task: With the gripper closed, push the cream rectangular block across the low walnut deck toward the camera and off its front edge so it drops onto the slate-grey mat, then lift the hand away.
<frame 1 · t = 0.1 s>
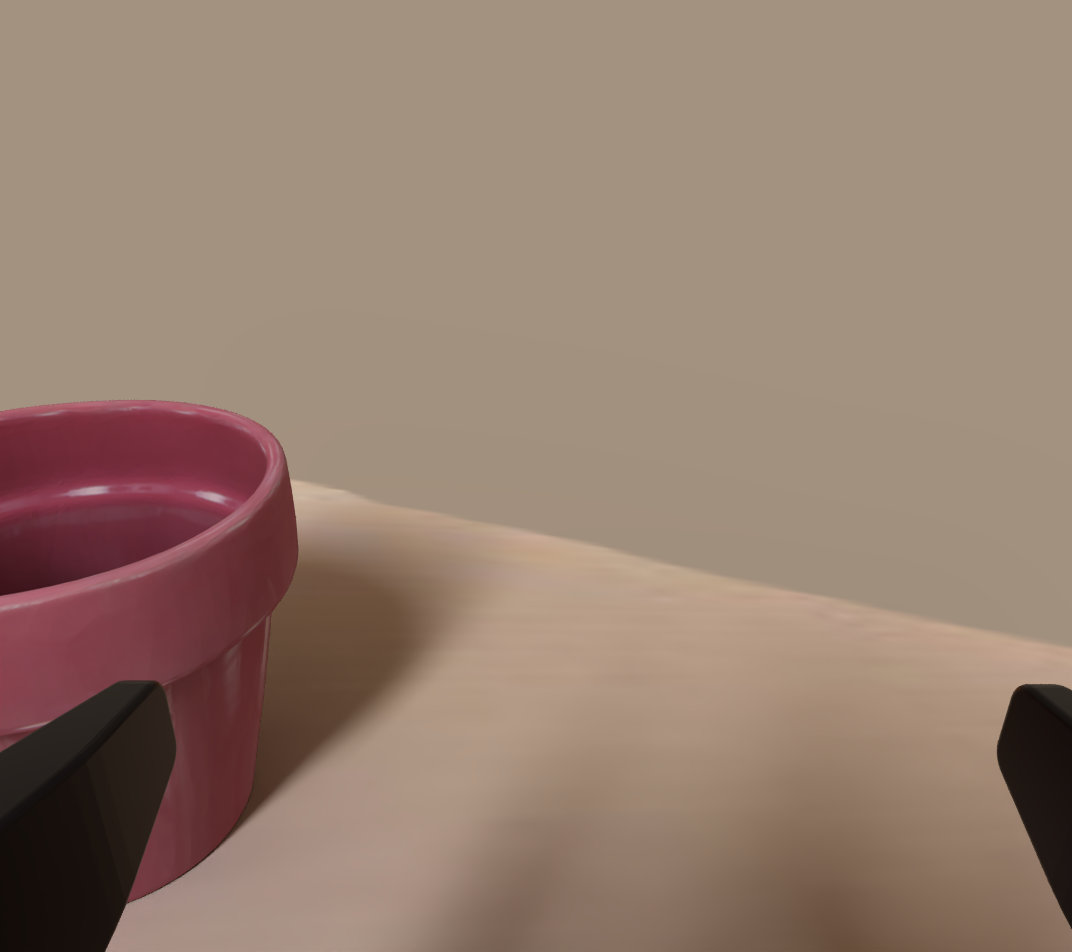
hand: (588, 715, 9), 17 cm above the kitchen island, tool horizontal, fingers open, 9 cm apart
plant pot: (123, 809, 29), on the kitchen island
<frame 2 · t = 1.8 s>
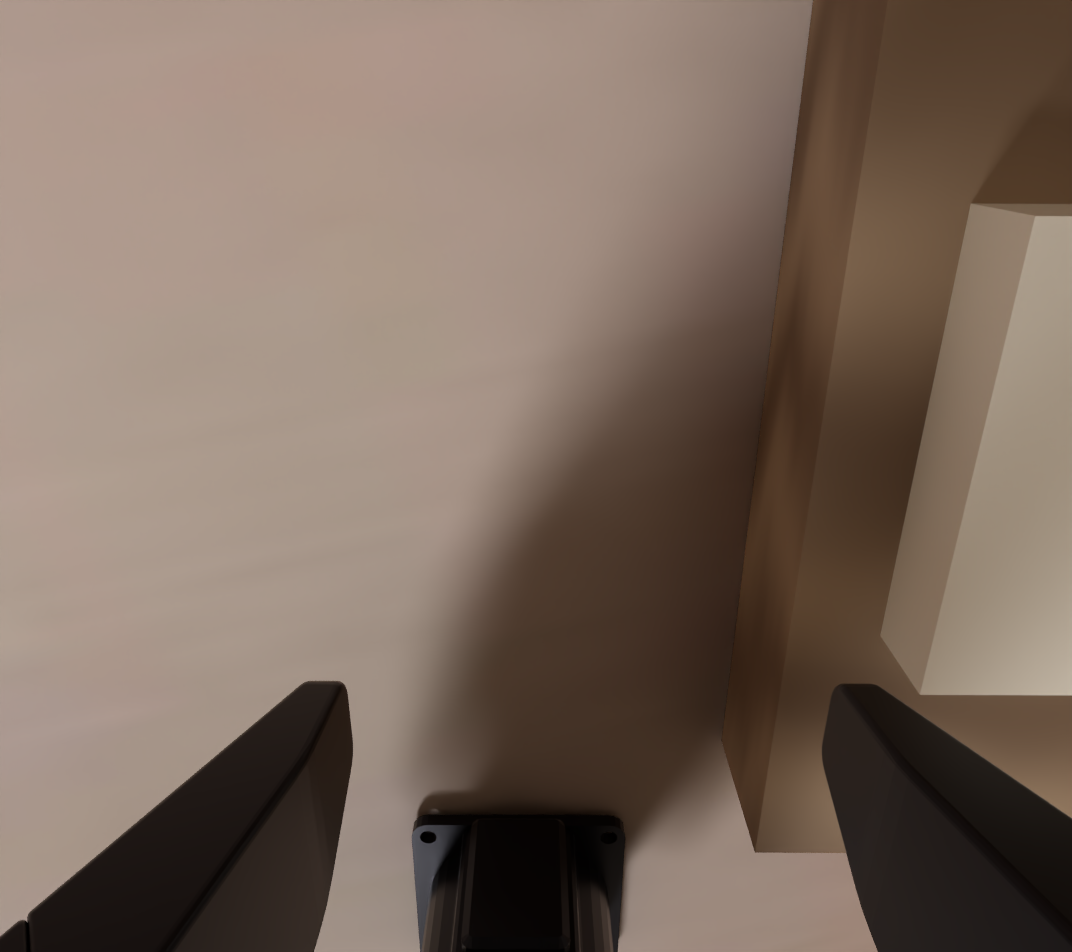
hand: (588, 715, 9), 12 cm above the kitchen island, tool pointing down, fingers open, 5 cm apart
walnut deck: (1055, 384, 20), on the kitchen island
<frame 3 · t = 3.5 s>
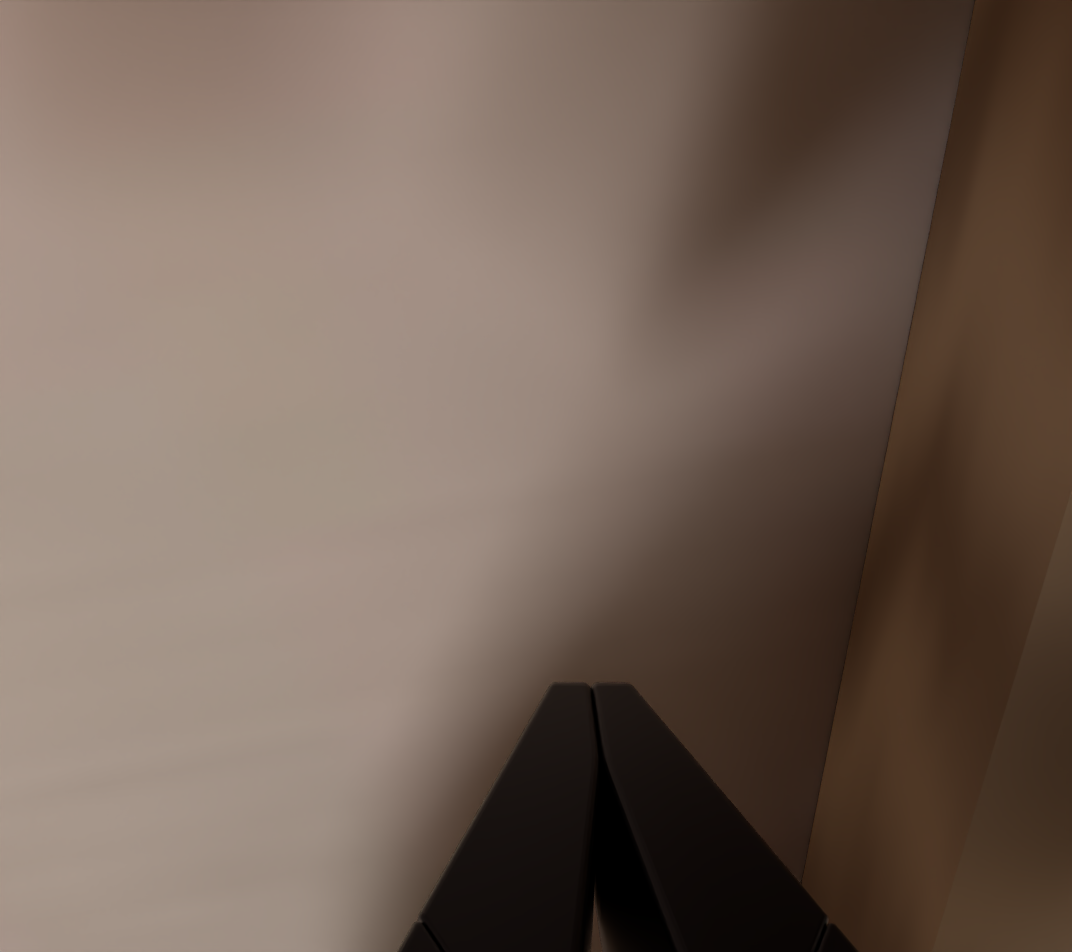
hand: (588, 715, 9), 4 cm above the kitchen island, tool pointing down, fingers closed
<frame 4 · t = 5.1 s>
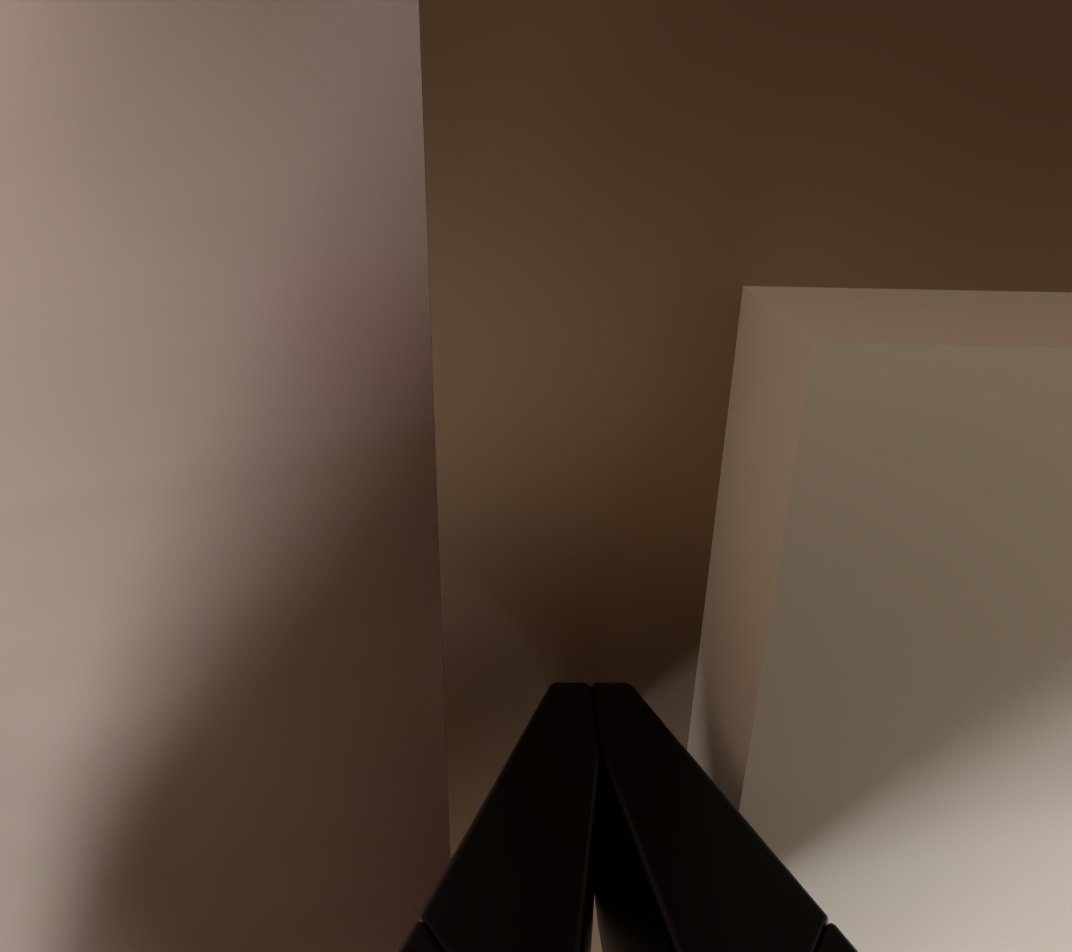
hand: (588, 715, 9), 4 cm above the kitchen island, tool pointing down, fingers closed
walnut deck: (919, 535, 13), on the kitchen island
cream rectangular block: (963, 700, 9), point 4 cm above the kitchen island, touching gripper, walnut deck
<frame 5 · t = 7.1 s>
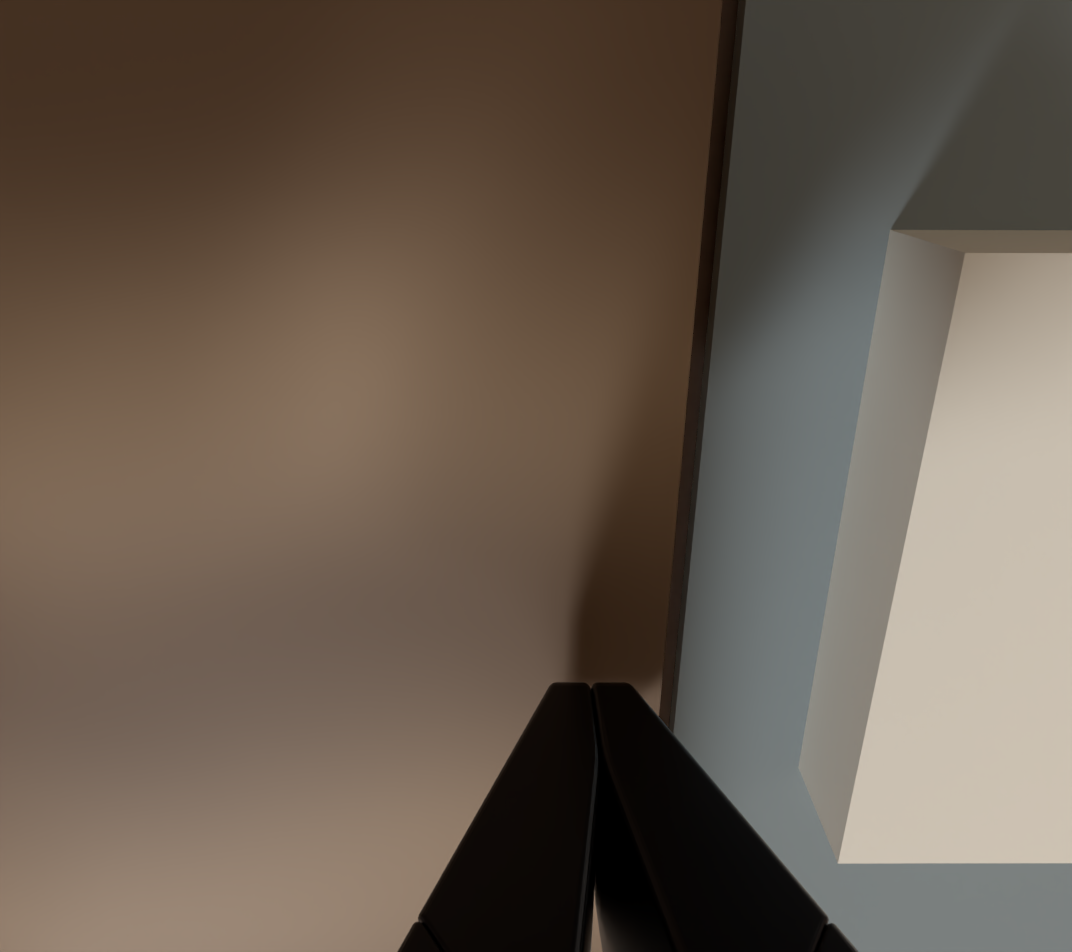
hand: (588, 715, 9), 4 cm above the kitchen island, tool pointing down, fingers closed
walnut deck: (174, 528, 13), on the kitchen island
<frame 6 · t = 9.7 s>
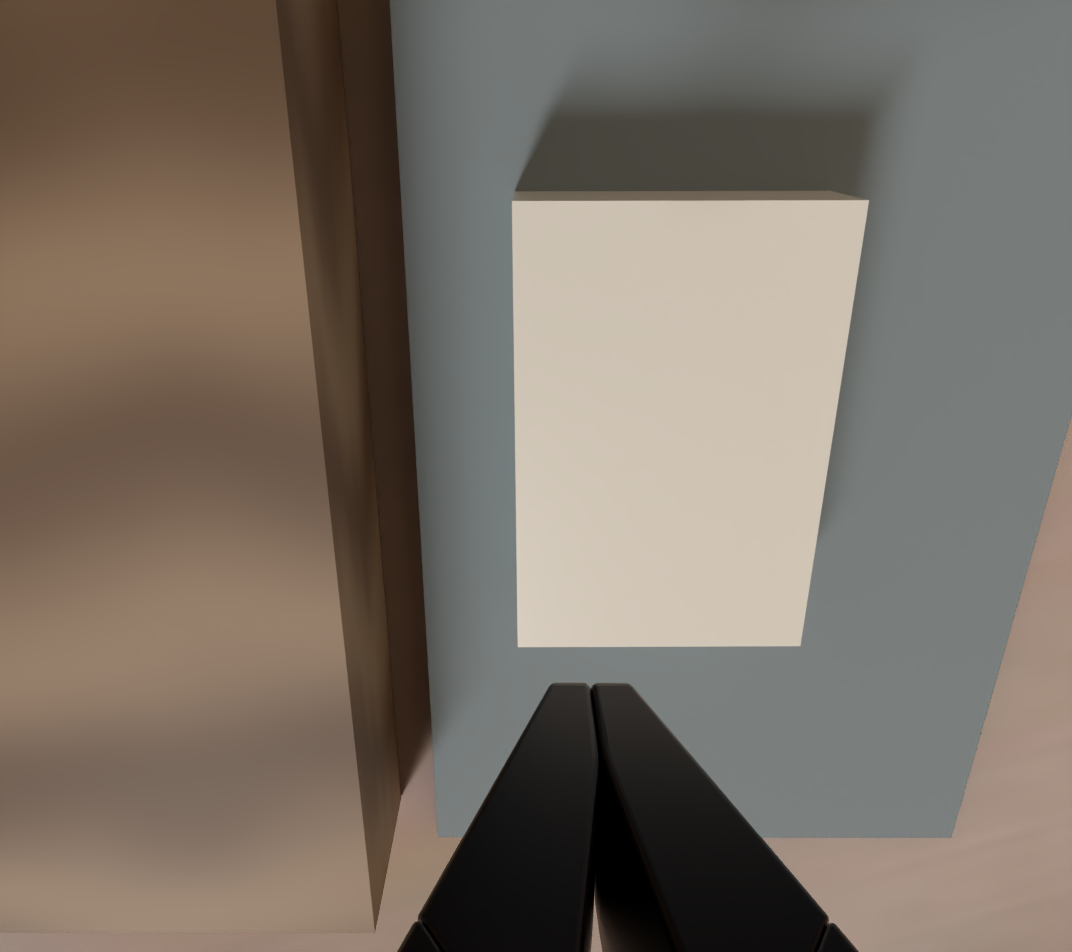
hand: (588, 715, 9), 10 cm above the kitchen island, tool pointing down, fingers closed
walnut deck: (47, 413, 18), on the kitchen island
slate mat: (737, 416, 18), on the kitchen island
cream rectangular block: (673, 449, 15), point 2 cm above the kitchen island, tilted 180°, touching slate mat
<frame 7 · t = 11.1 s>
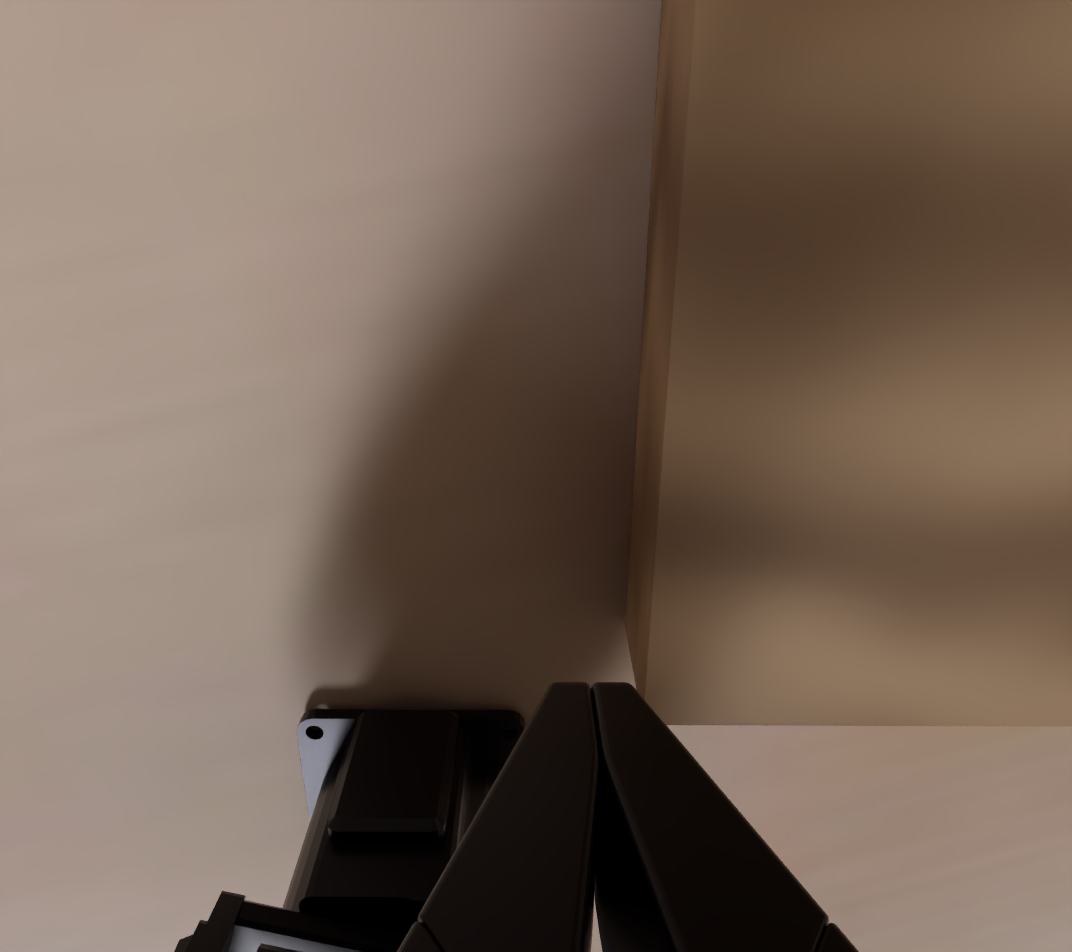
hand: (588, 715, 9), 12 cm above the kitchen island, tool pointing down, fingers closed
walnut deck: (965, 209, 18), on the kitchen island
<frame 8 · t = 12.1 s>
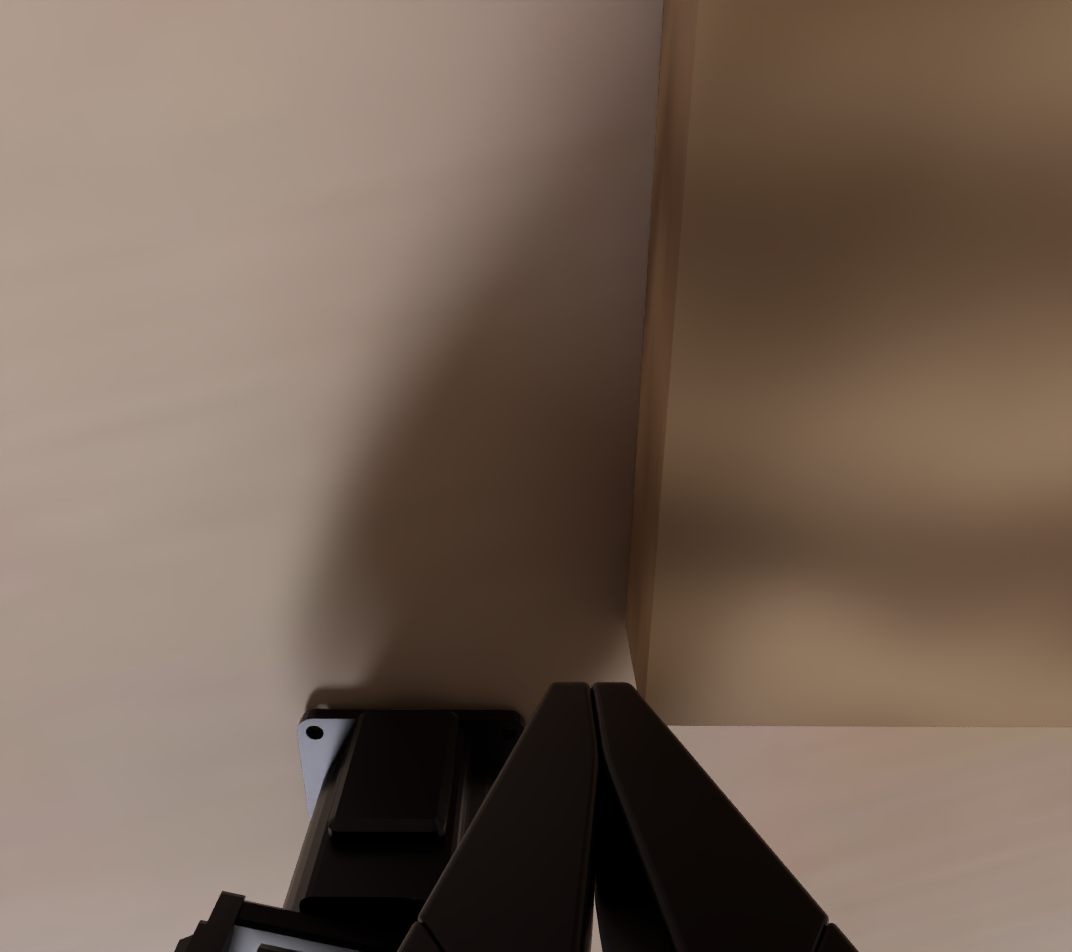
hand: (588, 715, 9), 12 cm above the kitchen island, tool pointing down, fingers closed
walnut deck: (966, 210, 18), on the kitchen island
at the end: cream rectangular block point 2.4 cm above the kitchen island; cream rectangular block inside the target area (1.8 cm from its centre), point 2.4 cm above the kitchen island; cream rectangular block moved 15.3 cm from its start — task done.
